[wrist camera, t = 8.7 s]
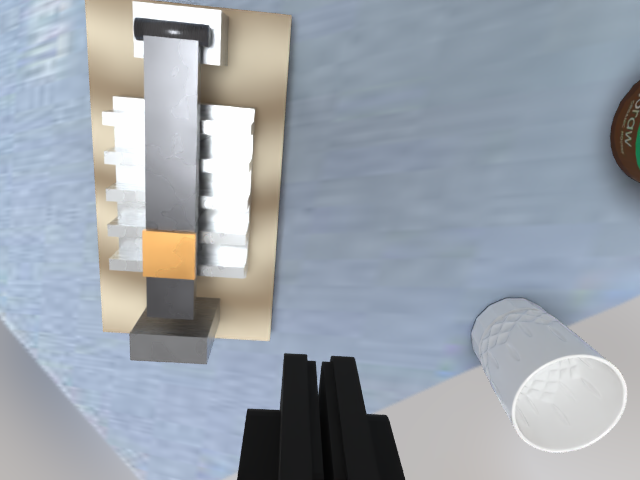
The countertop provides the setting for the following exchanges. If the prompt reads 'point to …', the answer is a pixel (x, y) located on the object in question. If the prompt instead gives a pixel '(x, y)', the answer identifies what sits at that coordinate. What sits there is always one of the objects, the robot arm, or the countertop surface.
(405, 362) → the countertop surface
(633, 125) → the food container
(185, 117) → the strap
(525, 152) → the countertop surface
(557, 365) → the white cup
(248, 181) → the heat sink
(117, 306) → the board
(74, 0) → the countertop surface
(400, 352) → the countertop surface
